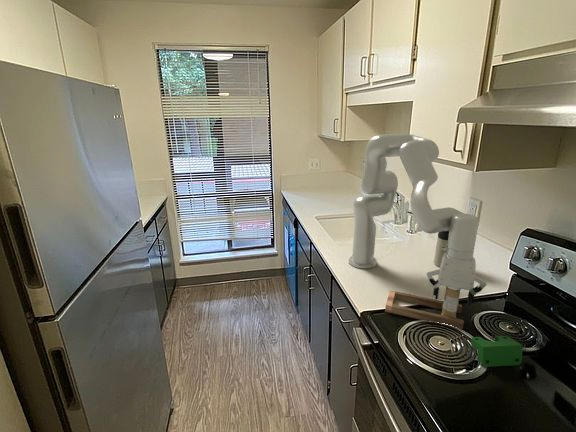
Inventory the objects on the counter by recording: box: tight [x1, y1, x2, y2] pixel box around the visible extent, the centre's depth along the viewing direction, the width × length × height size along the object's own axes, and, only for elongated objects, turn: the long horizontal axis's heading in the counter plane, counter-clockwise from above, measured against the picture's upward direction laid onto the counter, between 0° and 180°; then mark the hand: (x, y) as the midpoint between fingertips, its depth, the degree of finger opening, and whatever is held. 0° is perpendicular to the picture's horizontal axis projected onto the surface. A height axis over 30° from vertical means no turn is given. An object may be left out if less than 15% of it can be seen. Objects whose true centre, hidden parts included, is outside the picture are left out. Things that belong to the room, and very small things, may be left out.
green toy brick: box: [470, 335, 523, 368], centre depth 91 cm, size 12×6×9 cm, turn 89°
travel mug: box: [433, 231, 449, 268], centre depth 145 cm, size 8×8×18 cm
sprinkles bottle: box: [440, 286, 462, 318], centre depth 108 cm, size 5×5×14 cm
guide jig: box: [384, 290, 465, 330], centre depth 113 cm, size 11×24×2 cm, turn 66°
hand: (452, 300), depth 108 cm, fingers open, 9 cm apart
